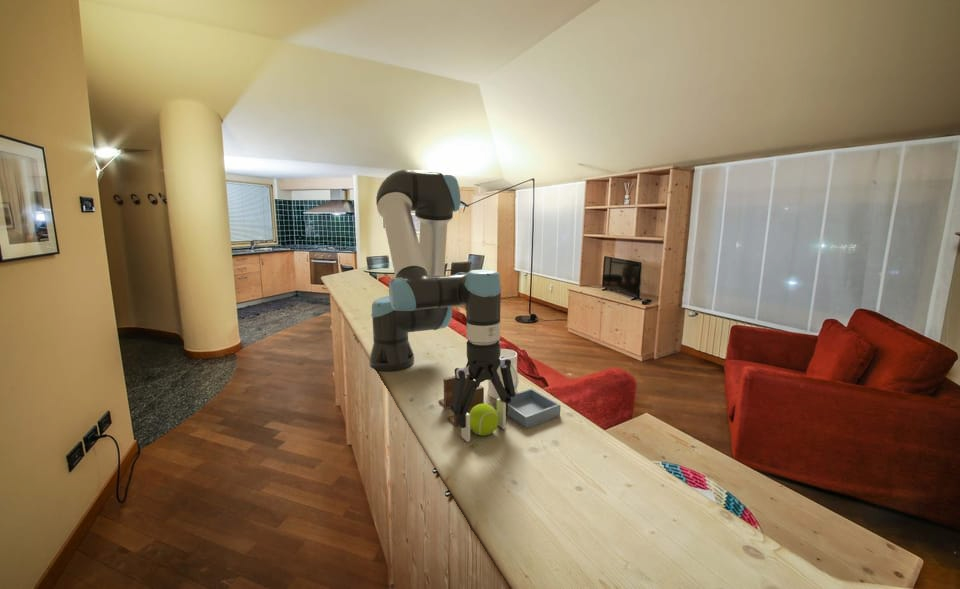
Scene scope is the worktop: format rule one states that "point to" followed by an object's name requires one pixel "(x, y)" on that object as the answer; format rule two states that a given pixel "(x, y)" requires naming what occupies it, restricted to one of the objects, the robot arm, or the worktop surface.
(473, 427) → the tennis ball
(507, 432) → the worktop surface
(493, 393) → the mug
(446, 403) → the bookend
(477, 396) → the bookend
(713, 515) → the worktop surface
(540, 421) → the dish
